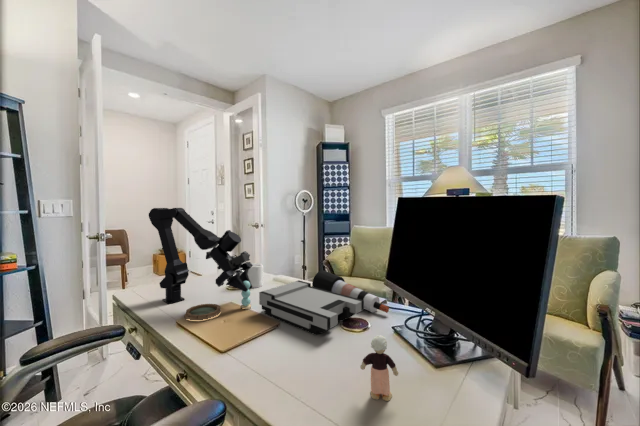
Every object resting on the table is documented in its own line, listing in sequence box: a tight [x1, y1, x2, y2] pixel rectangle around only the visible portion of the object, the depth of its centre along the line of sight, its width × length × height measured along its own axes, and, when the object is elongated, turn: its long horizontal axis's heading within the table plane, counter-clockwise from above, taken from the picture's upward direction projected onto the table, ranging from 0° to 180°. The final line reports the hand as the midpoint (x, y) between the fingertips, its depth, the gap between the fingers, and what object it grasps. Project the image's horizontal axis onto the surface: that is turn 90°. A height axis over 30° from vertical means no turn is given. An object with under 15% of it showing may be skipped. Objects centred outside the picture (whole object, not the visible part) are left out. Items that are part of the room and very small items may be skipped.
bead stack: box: [240, 281, 252, 310], centre depth 106 cm, size 4×4×11 cm
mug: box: [248, 262, 264, 289], centre depth 134 cm, size 12×8×10 cm
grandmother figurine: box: [359, 334, 399, 402], centre depth 58 cm, size 8×4×13 cm, turn 87°
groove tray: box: [184, 303, 222, 320], centre depth 99 cm, size 12×12×2 cm
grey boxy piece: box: [258, 280, 365, 336], centre depth 99 cm, size 21×32×8 cm, turn 50°
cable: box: [311, 269, 390, 314], centre depth 111 cm, size 10×34×10 cm, turn 46°
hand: (249, 289), depth 106 cm, fingers closed on bead stack, 3 cm apart
